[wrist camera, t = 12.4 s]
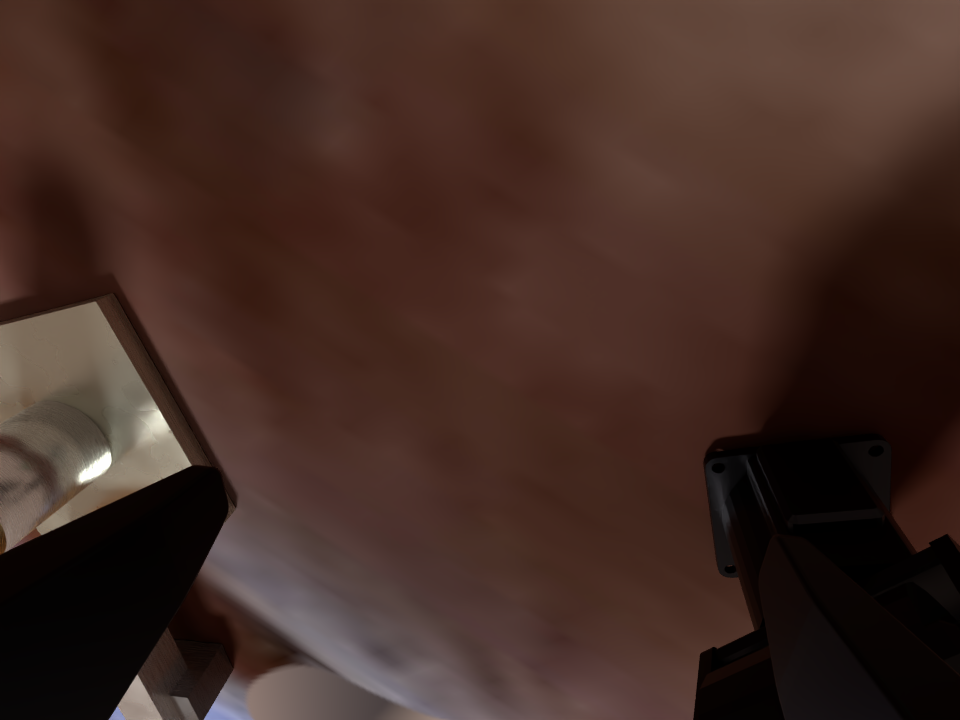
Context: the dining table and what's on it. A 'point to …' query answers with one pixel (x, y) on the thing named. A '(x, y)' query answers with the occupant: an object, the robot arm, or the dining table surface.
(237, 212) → the dining table surface
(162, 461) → the stand
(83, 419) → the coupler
